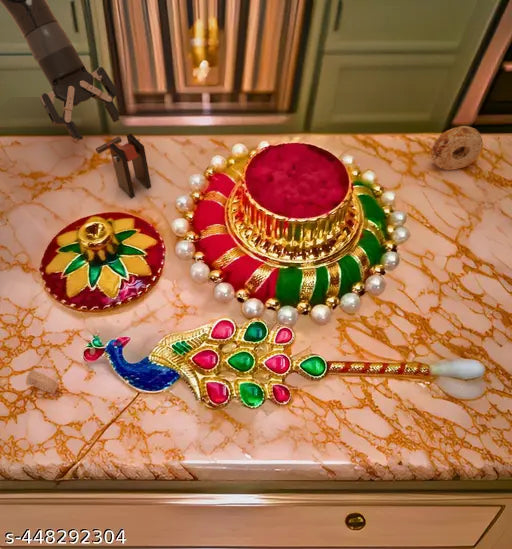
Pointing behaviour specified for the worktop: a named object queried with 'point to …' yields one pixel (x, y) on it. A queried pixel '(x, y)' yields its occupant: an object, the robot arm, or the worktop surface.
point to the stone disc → (457, 148)
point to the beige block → (47, 382)
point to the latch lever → (126, 148)
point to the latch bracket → (123, 167)
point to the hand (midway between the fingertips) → (99, 130)
